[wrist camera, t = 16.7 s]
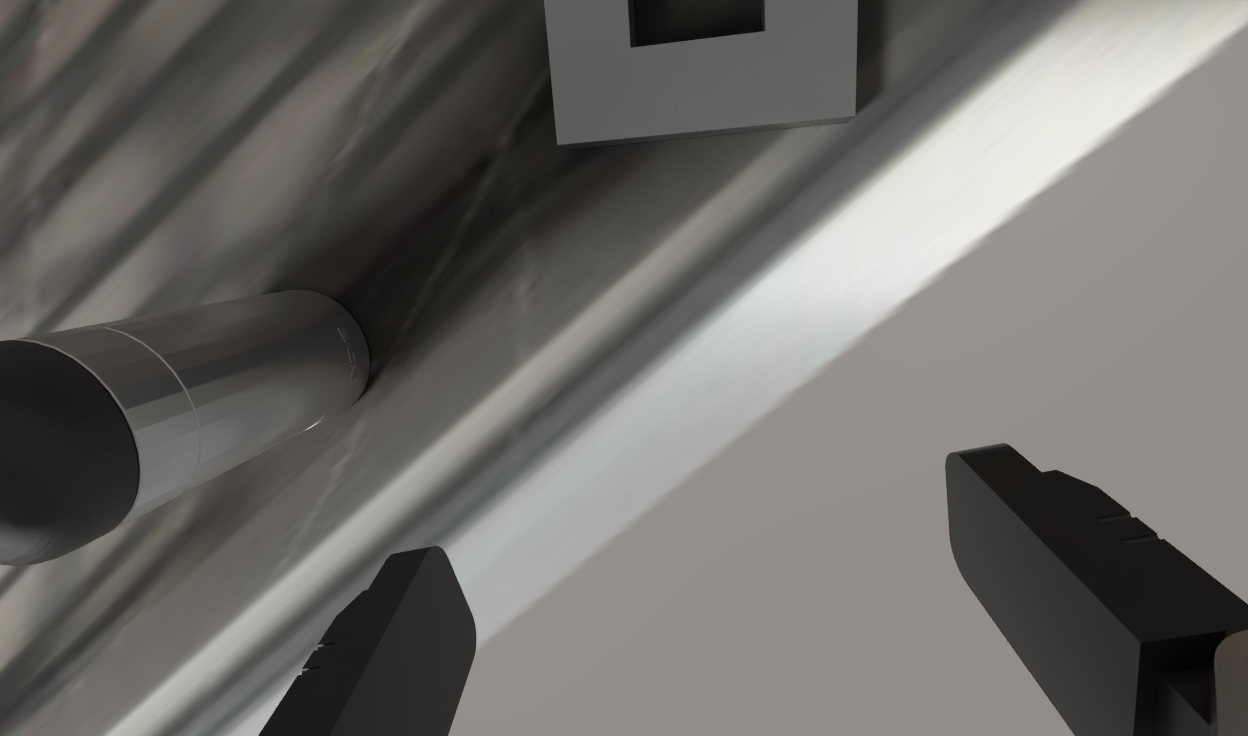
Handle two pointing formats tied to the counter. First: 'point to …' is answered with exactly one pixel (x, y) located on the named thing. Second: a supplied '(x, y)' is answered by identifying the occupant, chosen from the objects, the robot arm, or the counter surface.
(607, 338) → the counter surface
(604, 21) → the socket block
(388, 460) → the counter surface
